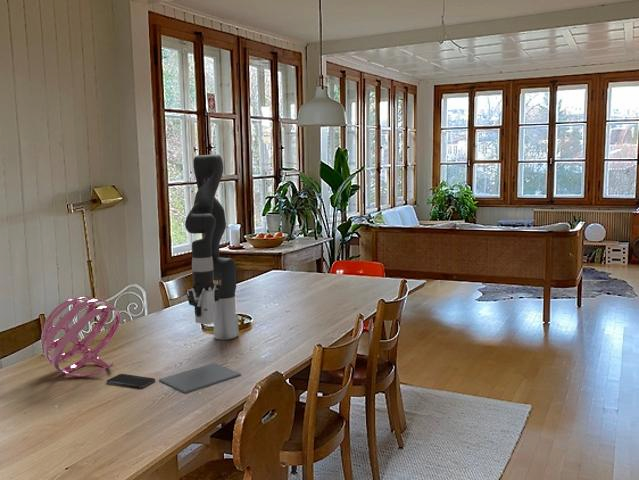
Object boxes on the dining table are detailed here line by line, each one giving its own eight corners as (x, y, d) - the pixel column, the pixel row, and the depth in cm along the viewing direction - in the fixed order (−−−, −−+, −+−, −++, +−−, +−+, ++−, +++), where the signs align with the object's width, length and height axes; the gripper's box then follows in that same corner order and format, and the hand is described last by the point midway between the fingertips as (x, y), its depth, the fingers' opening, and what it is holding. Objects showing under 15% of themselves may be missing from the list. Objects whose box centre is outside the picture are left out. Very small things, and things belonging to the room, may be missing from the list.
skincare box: (194, 322, 222) (193, 290, 220) (203, 319, 226) (201, 287, 224) (208, 325, 219) (206, 292, 217) (216, 321, 223) (214, 289, 221)
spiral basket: (150, 315, 213) (96, 269, 219) (87, 356, 191) (28, 303, 197) (134, 364, 229) (83, 320, 235) (74, 407, 207) (19, 357, 213)
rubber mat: (213, 364, 219) (213, 362, 219) (240, 375, 208) (240, 373, 208) (159, 380, 204) (159, 379, 204) (185, 393, 193) (184, 391, 193)
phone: (141, 387, 197) (104, 381, 203) (141, 390, 197) (105, 384, 203) (156, 378, 204) (121, 373, 210) (157, 381, 204) (121, 376, 210)
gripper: (213, 264, 227) (215, 309, 229) (179, 270, 217) (182, 317, 220) (225, 267, 222) (227, 312, 224) (191, 273, 212) (193, 320, 214)
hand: (205, 314), depth 222 cm, fingers closed on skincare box, 5 cm apart
